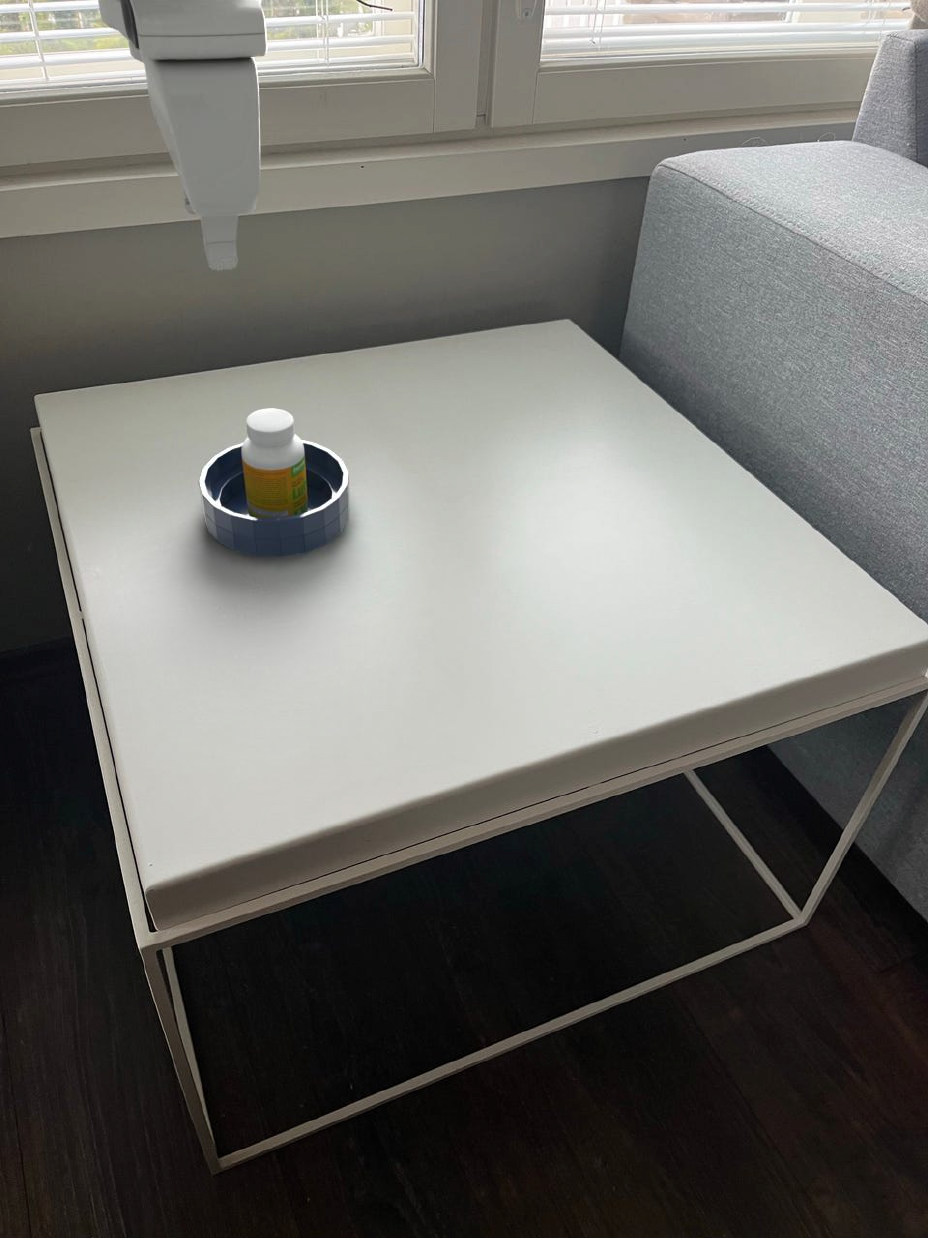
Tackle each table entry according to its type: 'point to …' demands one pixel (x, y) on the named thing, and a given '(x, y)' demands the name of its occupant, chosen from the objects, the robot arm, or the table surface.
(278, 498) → the supplement bottle
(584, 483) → the table surface
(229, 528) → the blue bowl
